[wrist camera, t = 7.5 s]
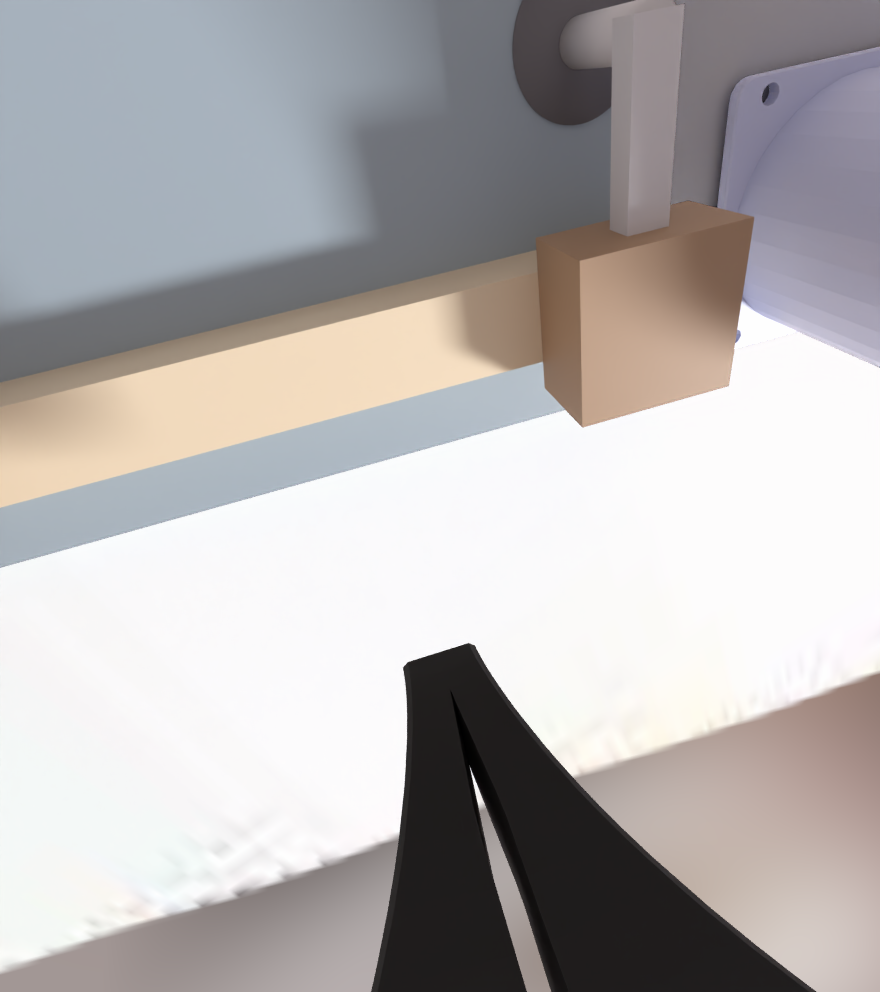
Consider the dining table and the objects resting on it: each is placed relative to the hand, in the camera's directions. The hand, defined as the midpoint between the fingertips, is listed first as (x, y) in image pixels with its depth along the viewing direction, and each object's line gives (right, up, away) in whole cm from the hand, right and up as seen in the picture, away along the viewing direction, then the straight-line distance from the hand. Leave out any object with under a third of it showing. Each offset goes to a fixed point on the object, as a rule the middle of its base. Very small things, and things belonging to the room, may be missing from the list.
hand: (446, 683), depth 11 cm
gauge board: (-6, +9, +4) cm, 12 cm away
